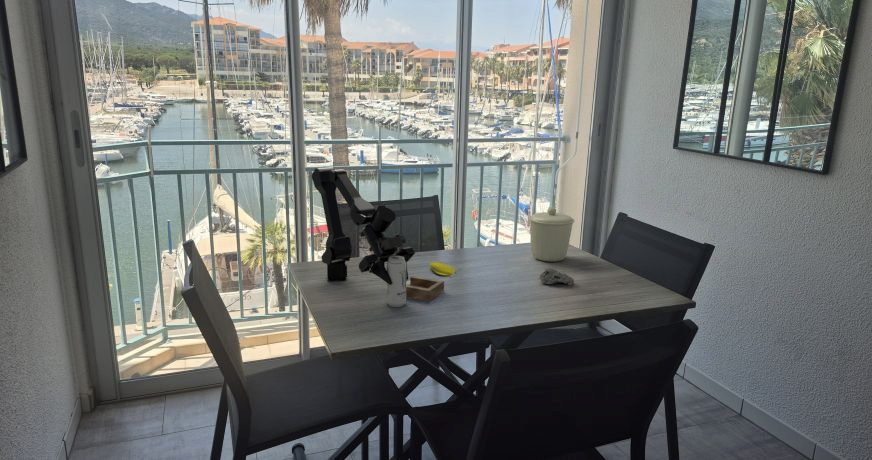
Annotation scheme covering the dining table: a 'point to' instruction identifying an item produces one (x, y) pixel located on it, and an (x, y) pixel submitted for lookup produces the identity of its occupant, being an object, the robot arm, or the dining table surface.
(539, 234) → the canister
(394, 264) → the energy drink can
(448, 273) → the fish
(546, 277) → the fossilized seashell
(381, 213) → the robot arm
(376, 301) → the dining table surface
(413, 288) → the wooden tray
